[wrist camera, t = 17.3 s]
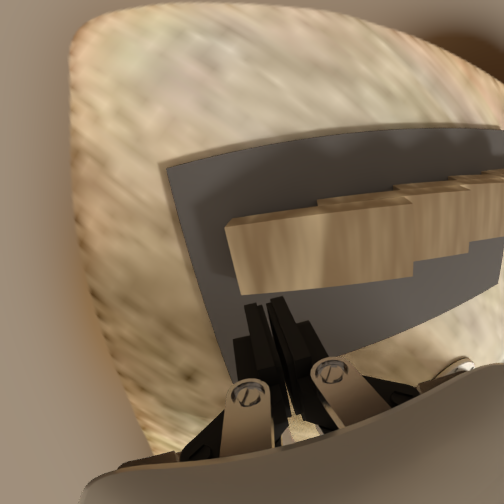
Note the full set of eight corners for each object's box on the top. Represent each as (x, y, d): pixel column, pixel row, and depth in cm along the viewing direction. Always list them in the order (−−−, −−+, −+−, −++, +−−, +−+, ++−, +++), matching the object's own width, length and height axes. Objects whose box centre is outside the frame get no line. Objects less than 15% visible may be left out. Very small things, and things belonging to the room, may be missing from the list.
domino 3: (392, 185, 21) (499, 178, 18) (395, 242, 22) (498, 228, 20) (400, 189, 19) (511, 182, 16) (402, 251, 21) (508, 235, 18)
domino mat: (494, 281, 28) (497, 283, 27) (232, 380, 26) (233, 384, 25) (501, 130, 21) (505, 130, 20) (167, 168, 19) (166, 168, 18)
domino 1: (232, 218, 20) (403, 196, 17) (246, 281, 22) (404, 263, 19) (224, 227, 18) (413, 203, 15) (241, 295, 20) (412, 276, 17)
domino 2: (316, 199, 20) (458, 185, 18) (324, 261, 22) (457, 243, 19) (318, 206, 18) (471, 190, 16) (326, 273, 20) (468, 252, 18)
